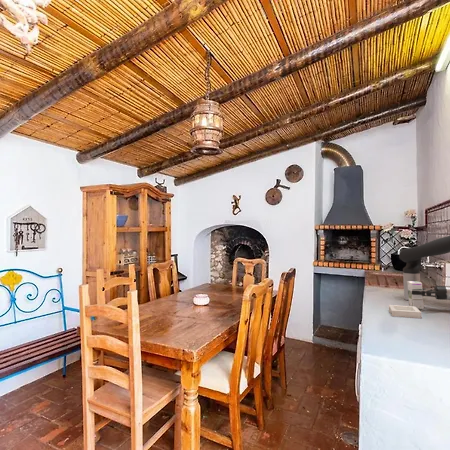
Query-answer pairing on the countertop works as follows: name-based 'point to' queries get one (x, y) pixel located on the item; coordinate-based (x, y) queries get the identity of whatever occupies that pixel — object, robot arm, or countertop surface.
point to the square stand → (404, 311)
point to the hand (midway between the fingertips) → (410, 291)
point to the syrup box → (415, 299)
